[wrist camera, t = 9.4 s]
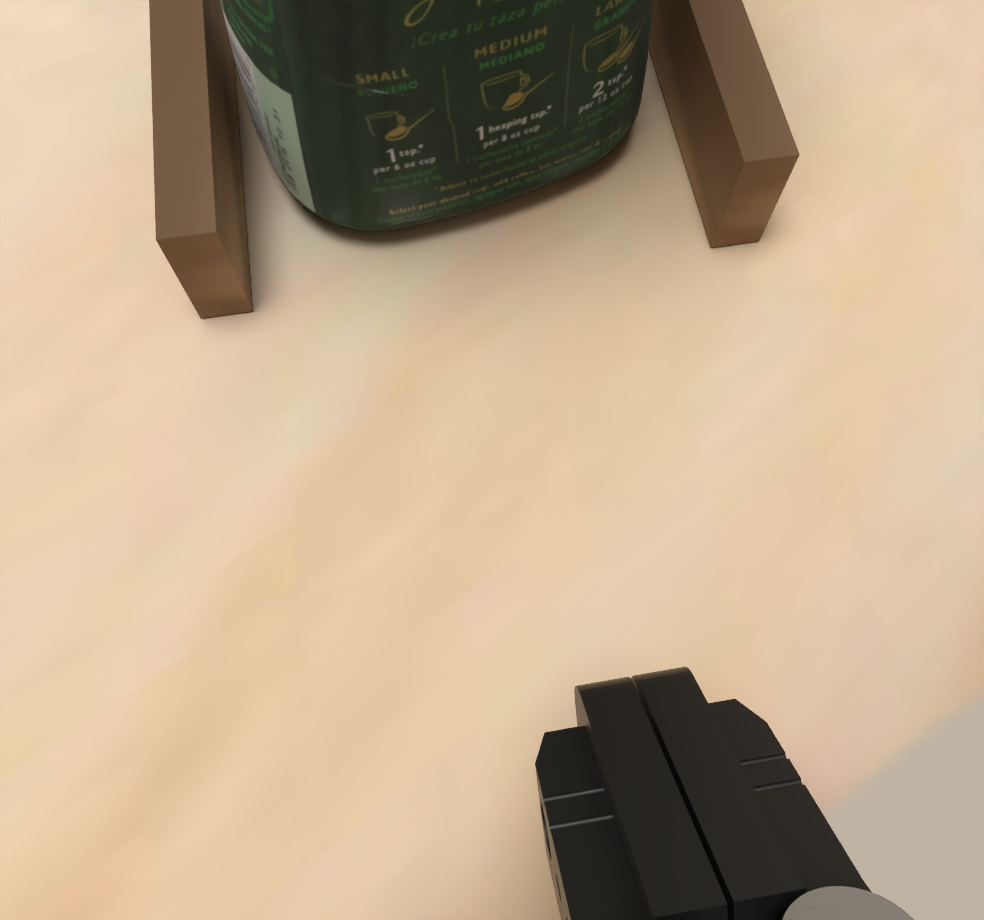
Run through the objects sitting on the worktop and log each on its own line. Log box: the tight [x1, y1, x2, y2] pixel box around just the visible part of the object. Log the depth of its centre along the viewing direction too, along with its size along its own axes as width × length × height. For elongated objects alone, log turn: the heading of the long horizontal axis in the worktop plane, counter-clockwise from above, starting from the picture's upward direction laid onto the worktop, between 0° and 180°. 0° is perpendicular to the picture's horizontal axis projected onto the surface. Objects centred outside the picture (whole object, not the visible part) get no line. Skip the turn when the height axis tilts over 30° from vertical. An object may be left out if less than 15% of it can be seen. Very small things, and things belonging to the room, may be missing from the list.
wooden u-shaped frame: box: [149, 0, 799, 318], centre depth 22 cm, size 13×13×3 cm
